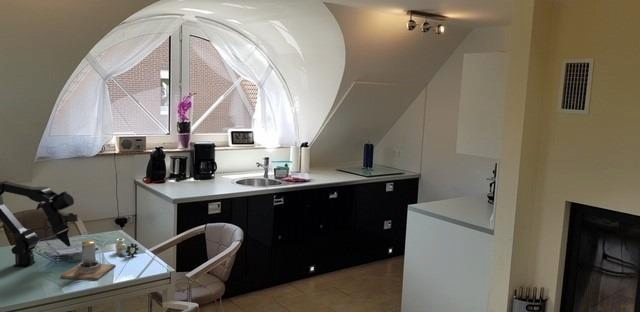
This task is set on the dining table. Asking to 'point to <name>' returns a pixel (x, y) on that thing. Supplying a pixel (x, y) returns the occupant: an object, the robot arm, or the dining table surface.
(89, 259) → the gray can
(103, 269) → the flange board
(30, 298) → the dining table surface
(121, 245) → the valve
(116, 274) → the dining table surface
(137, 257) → the dining table surface
